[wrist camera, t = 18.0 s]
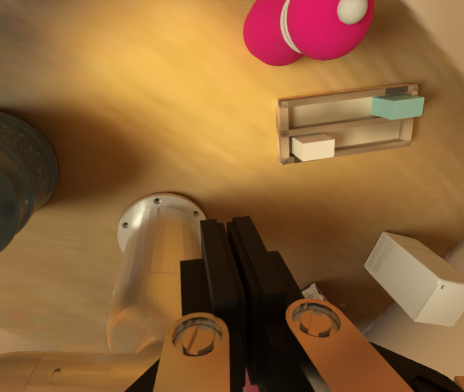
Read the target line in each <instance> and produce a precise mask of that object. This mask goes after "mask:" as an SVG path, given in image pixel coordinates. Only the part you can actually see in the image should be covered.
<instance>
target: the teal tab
mask: <svg viewBox="0 0 464 392" xmlns="http://www.w3.org/2000/svg"><path fill="white" fill-rule="evenodd" d="M424 98H425V97H420V96H414V95H407V94H393V95H385V96H377V97H372V107H371V114H372V115H375V116H379V117H383V118H386V119H390V120H395V119H402V118H410V117H417V116H422V111H423V105H424Z"/></svg>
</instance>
